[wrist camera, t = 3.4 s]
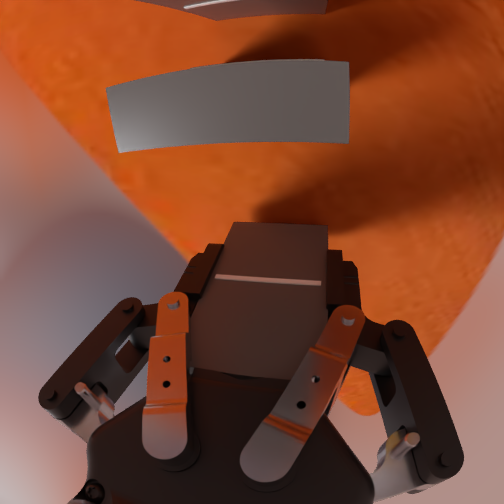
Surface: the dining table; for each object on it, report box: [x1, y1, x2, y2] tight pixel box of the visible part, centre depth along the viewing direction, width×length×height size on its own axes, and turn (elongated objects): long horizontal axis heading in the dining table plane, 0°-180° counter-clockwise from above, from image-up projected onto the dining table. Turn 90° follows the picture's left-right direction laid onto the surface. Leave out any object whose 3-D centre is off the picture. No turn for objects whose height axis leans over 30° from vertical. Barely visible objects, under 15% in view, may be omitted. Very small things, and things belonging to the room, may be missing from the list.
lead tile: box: [190, 222, 328, 380], centre depth 13 cm, size 2×5×9 cm, turn 95°
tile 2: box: [106, 59, 350, 153], centre depth 9 cm, size 2×5×9 cm, turn 95°
